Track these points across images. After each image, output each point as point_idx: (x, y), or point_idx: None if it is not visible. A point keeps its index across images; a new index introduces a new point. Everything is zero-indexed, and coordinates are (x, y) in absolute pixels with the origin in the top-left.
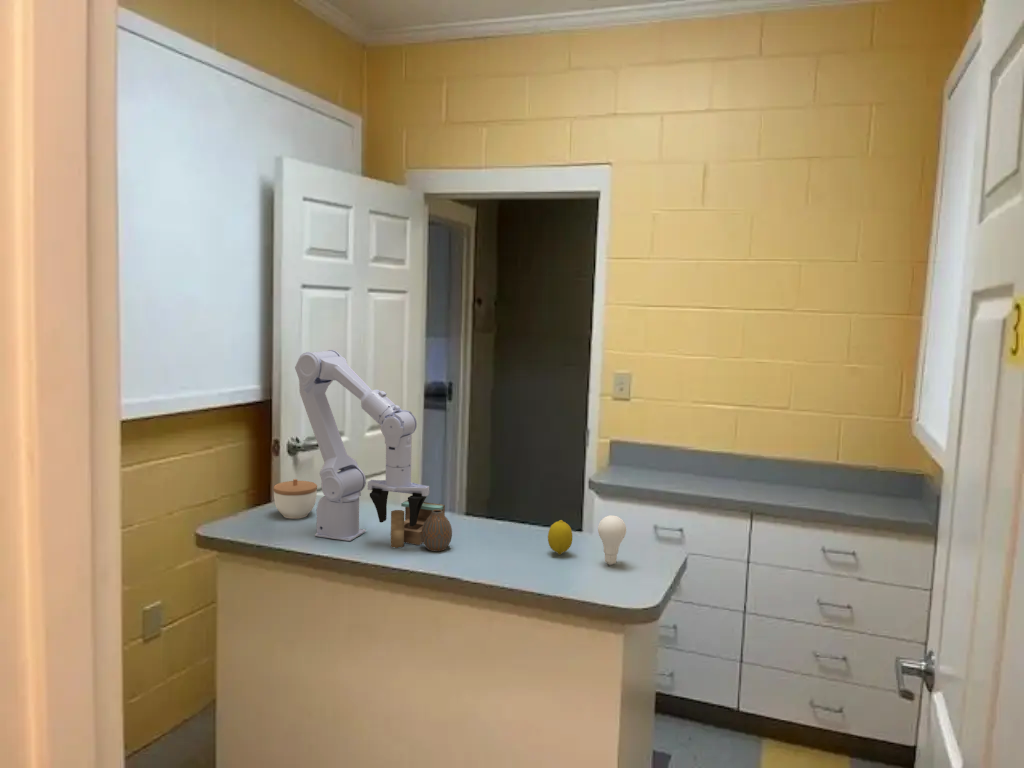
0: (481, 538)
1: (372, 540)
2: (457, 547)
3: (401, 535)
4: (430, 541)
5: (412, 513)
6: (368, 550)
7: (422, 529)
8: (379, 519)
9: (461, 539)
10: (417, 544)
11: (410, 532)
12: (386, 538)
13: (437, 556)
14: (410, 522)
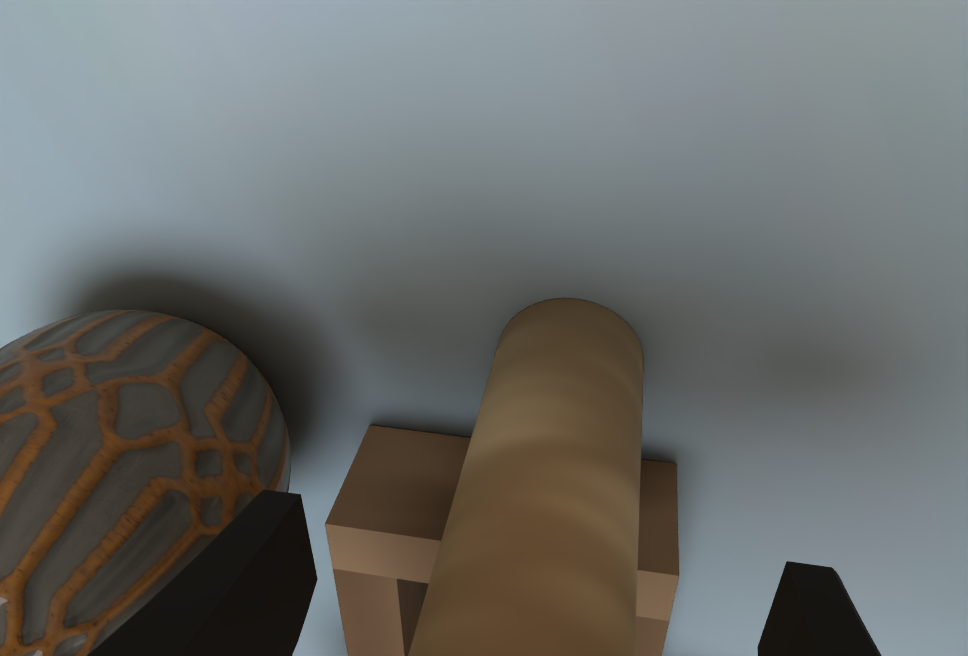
0: None
1: (909, 442)
2: None
3: (478, 416)
4: (87, 334)
5: (119, 654)
6: (873, 123)
7: (178, 483)
8: (842, 602)
9: None
10: (393, 428)
11: (444, 526)
12: (764, 514)
13: (36, 189)
14: (258, 530)
